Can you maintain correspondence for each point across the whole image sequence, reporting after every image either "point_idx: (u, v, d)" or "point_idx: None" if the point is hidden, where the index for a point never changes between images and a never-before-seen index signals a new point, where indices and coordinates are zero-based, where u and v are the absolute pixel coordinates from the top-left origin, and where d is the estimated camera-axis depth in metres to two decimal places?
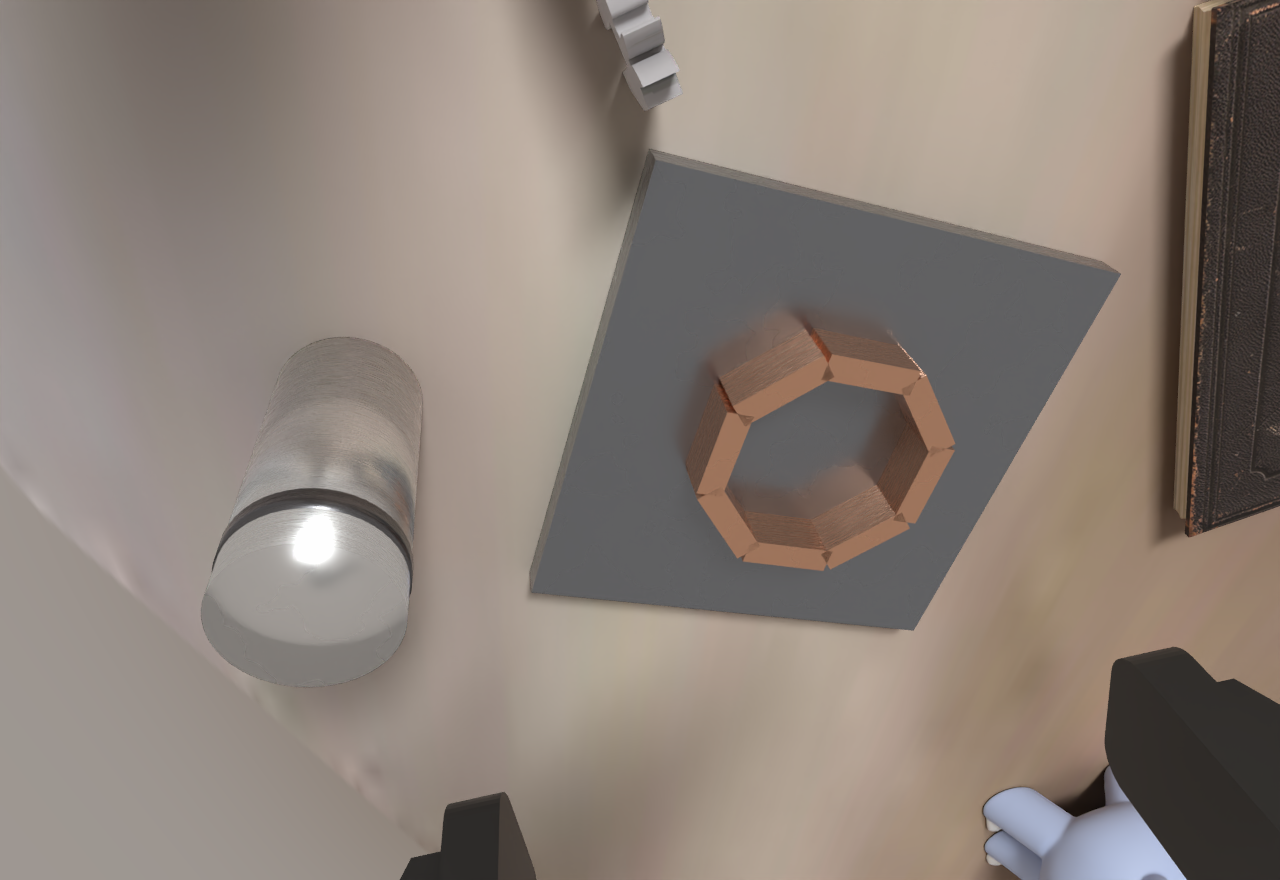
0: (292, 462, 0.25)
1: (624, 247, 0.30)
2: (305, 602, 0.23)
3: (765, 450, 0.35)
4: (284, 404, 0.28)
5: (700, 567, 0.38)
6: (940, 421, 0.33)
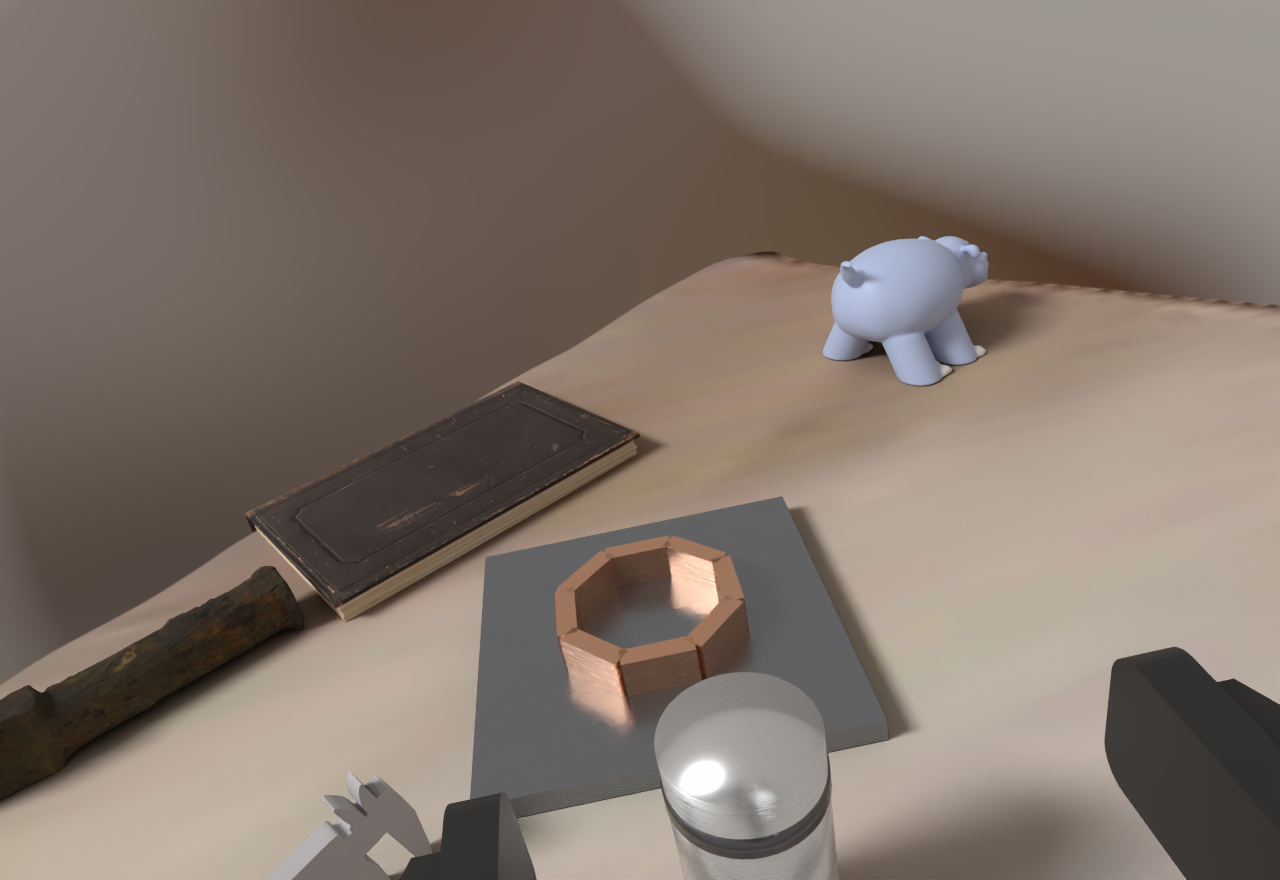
0: (685, 858, 0.27)
1: (549, 804, 0.39)
2: (719, 739, 0.27)
3: None
4: None
5: (793, 627, 0.44)
6: (586, 565, 0.48)
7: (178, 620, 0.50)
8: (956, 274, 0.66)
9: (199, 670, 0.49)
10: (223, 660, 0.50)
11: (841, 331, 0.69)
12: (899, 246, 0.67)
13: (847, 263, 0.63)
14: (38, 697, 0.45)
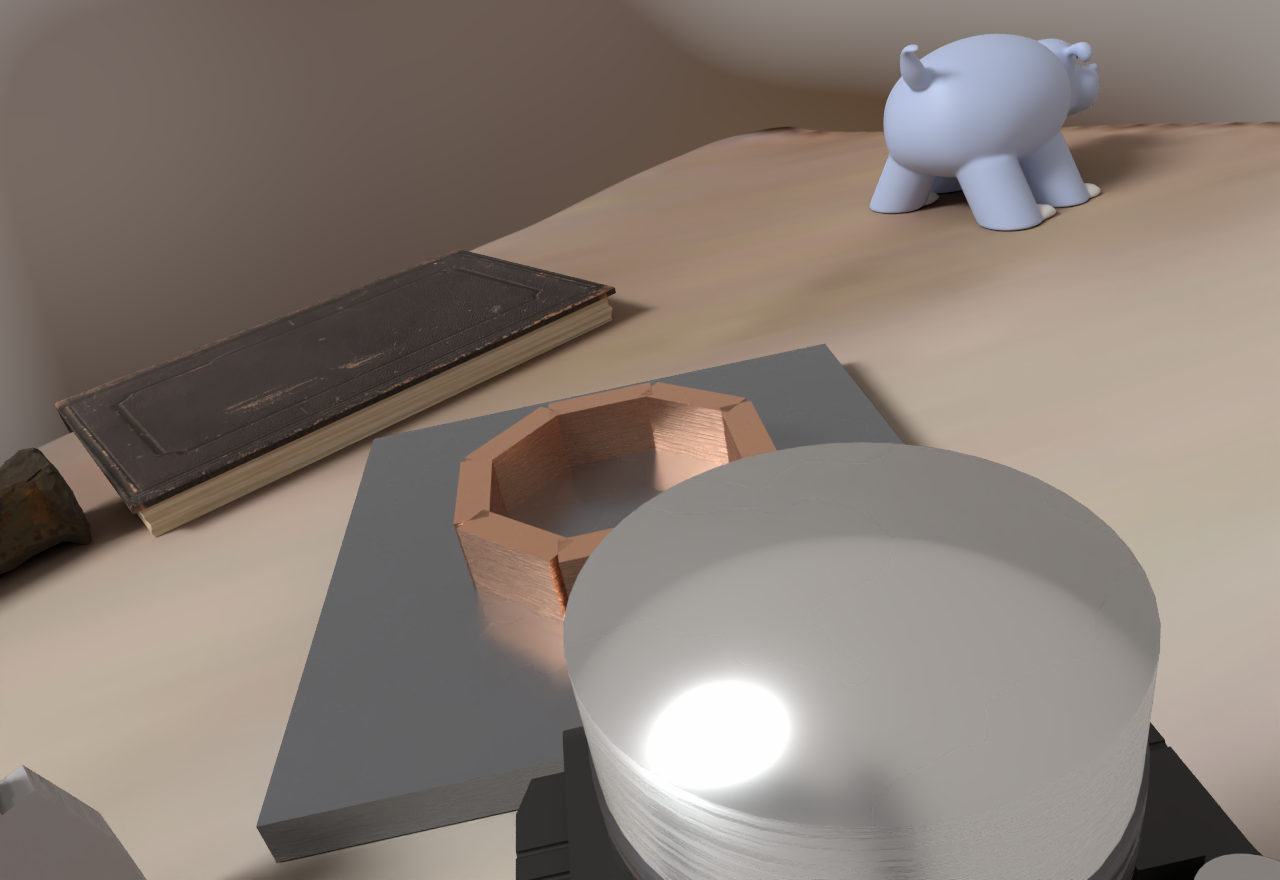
0: None
1: (414, 818, 0.20)
2: (776, 603, 0.08)
3: None
4: None
5: None
6: (517, 425, 0.30)
7: None
8: (1062, 74, 0.47)
9: None
10: None
11: (897, 167, 0.50)
12: (981, 37, 0.47)
13: (911, 46, 0.44)
14: None
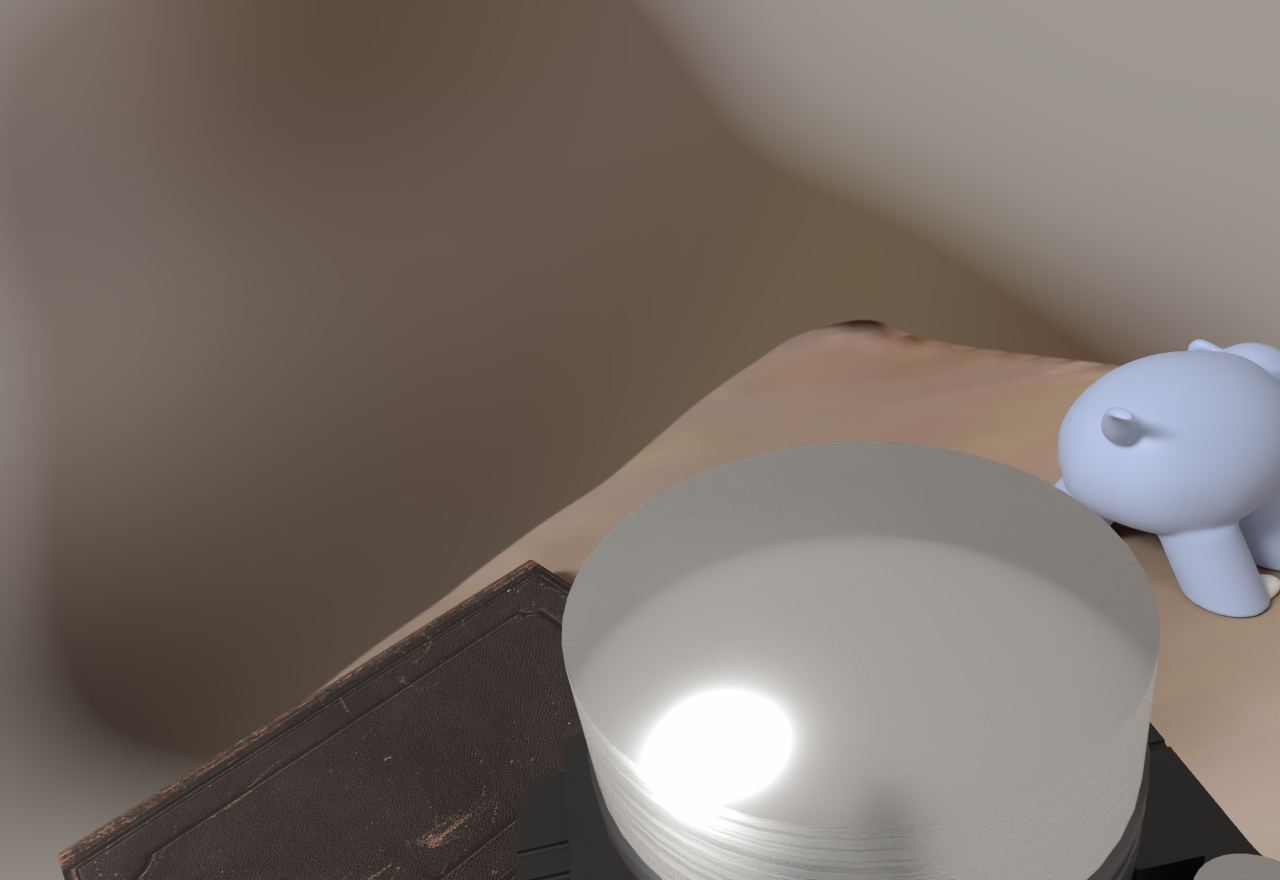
0: None
1: None
2: (775, 603, 0.08)
3: None
4: None
5: None
6: None
7: None
8: None
9: None
10: None
11: None
12: (1193, 370, 0.39)
13: (1124, 413, 0.35)
14: None
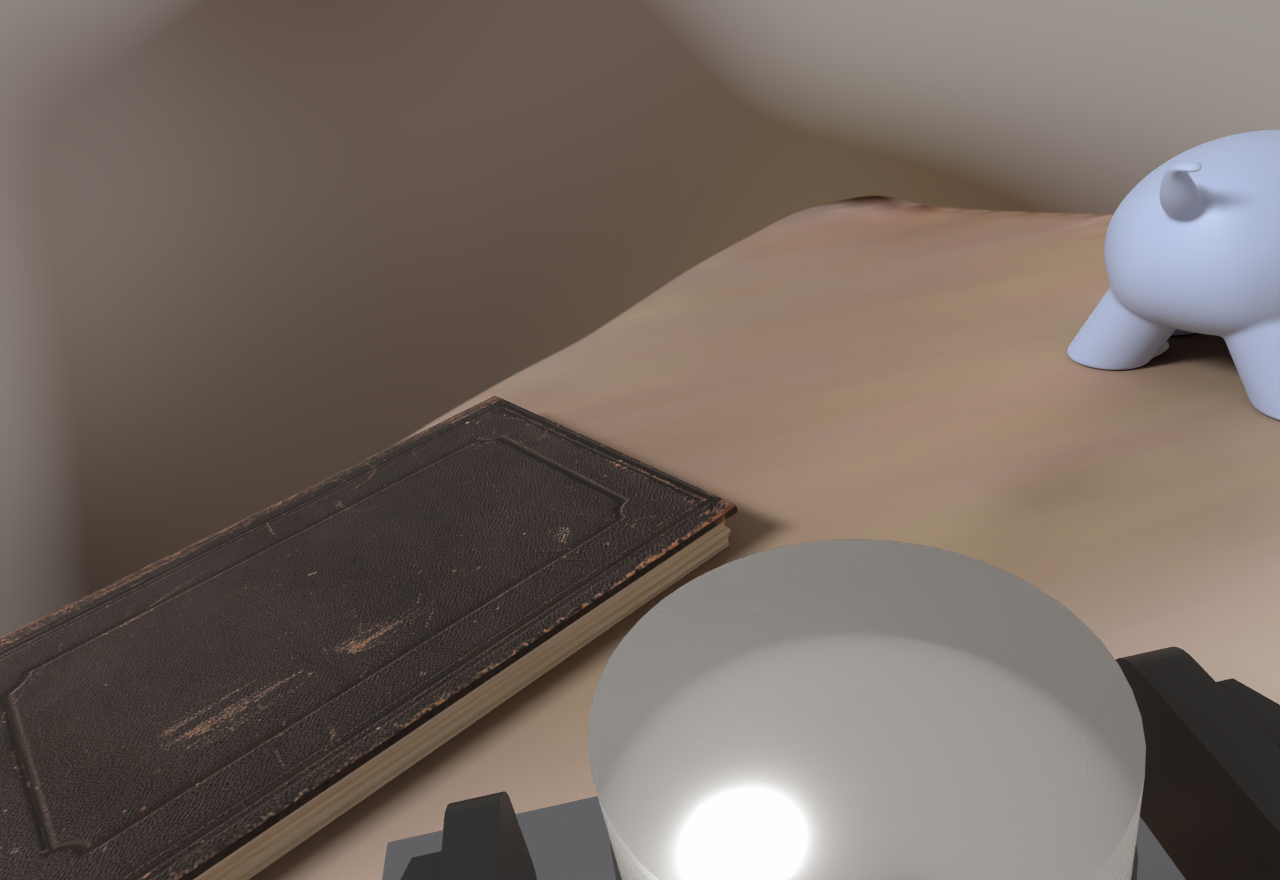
0: None
1: None
2: (788, 714, 0.09)
3: None
4: None
5: None
6: None
7: None
8: None
9: None
10: None
11: (1124, 313, 0.35)
12: (1270, 138, 0.32)
13: (1190, 163, 0.29)
14: None
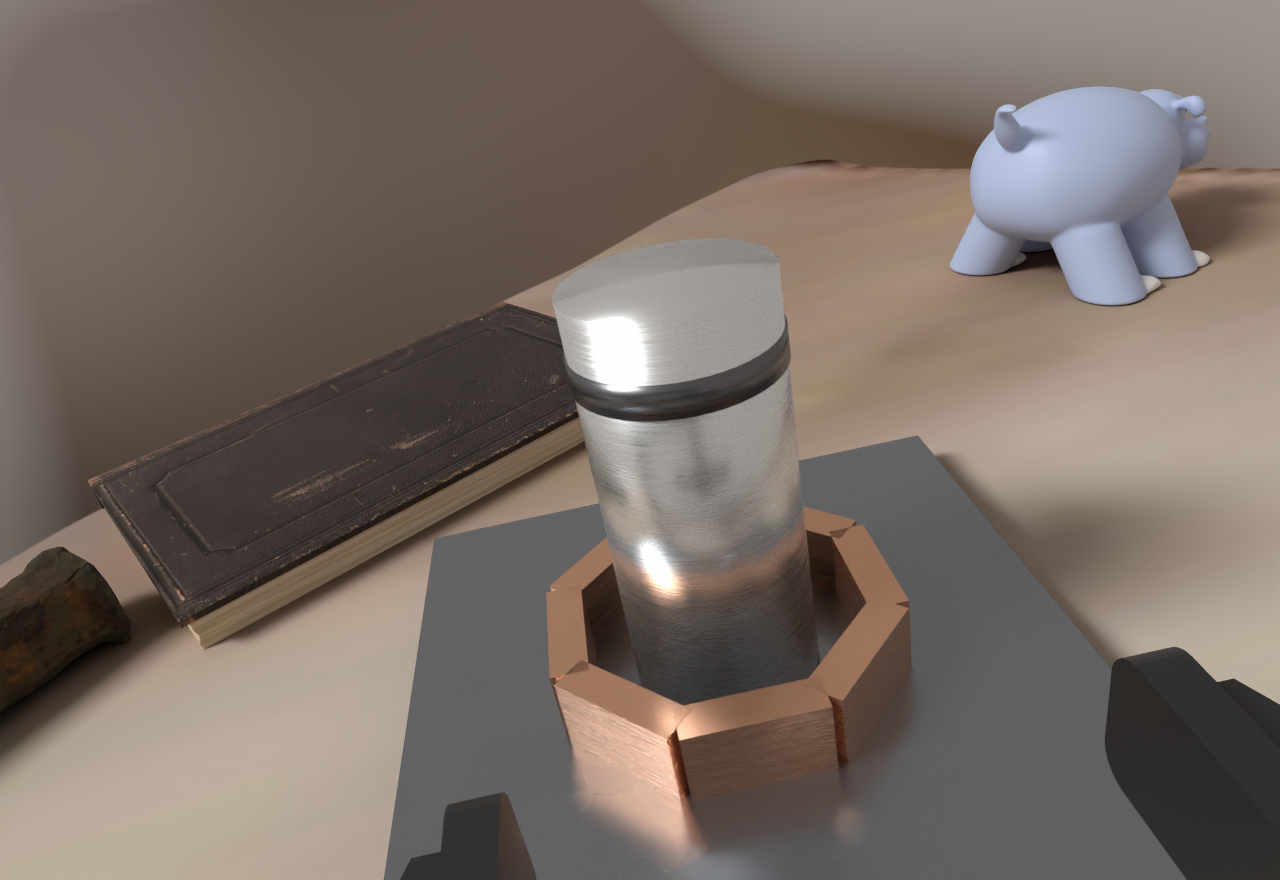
0: (597, 459, 0.21)
1: None
2: (638, 282, 0.20)
3: None
4: (650, 603, 0.22)
5: (1000, 657, 0.23)
6: (603, 545, 0.27)
7: None
8: (1174, 134, 0.43)
9: None
10: None
11: (983, 228, 0.46)
12: (1083, 92, 0.43)
13: (1008, 106, 0.40)
14: None
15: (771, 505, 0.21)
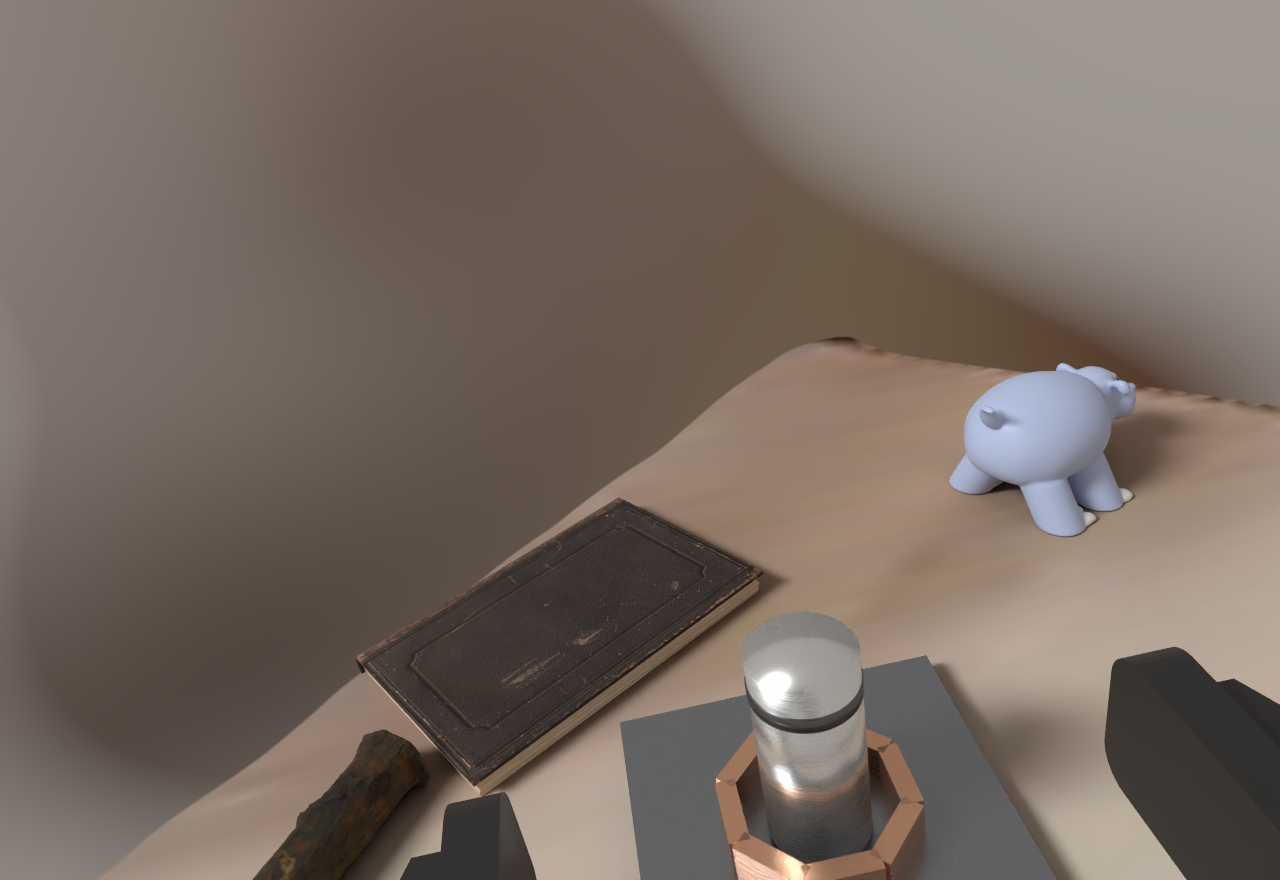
0: (763, 739, 0.40)
1: None
2: (787, 655, 0.39)
3: None
4: (786, 807, 0.41)
5: (974, 829, 0.42)
6: (742, 749, 0.46)
7: (316, 811, 0.47)
8: (1105, 417, 0.61)
9: (353, 855, 0.47)
10: (371, 838, 0.48)
11: (973, 466, 0.65)
12: (1043, 383, 0.62)
13: (989, 408, 0.59)
14: None
15: (854, 763, 0.40)
